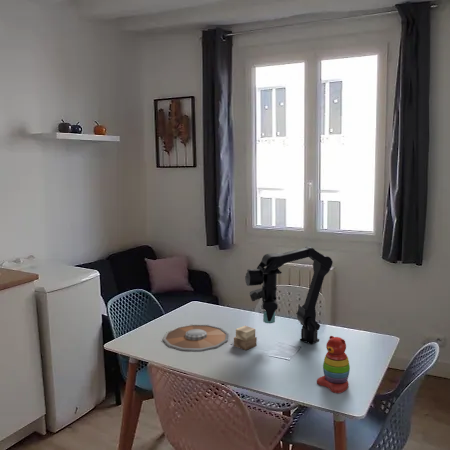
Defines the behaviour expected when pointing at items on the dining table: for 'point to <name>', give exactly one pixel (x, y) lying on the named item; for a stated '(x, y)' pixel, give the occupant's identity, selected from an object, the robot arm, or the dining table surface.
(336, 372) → the stacking bear
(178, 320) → the dining table surface
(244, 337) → the oak top block
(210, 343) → the shield
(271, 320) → the teal cylinder
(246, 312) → the dining table surface
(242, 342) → the walnut base block
